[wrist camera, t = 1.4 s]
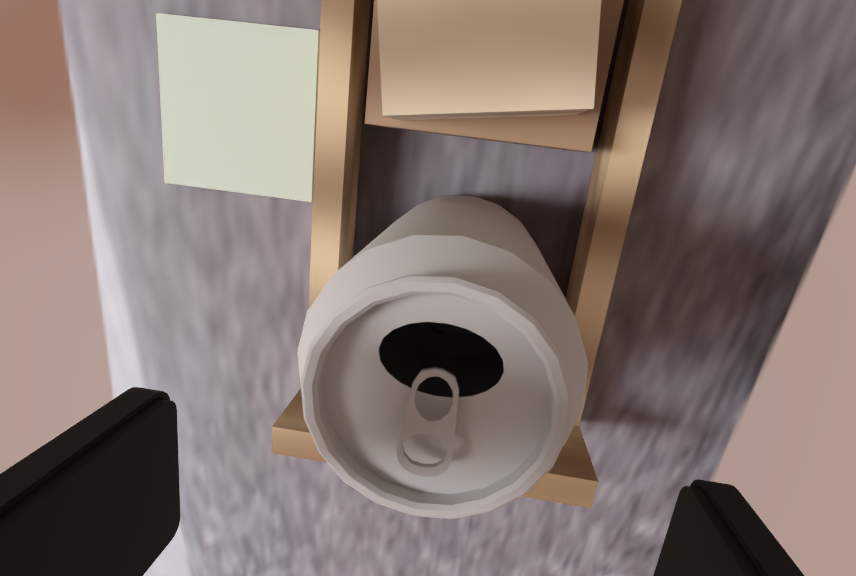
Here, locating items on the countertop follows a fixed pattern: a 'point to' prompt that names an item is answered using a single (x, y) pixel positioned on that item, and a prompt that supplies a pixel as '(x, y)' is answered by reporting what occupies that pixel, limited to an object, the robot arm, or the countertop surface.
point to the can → (443, 363)
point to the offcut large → (518, 130)
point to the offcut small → (487, 58)
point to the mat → (238, 105)
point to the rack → (602, 217)
